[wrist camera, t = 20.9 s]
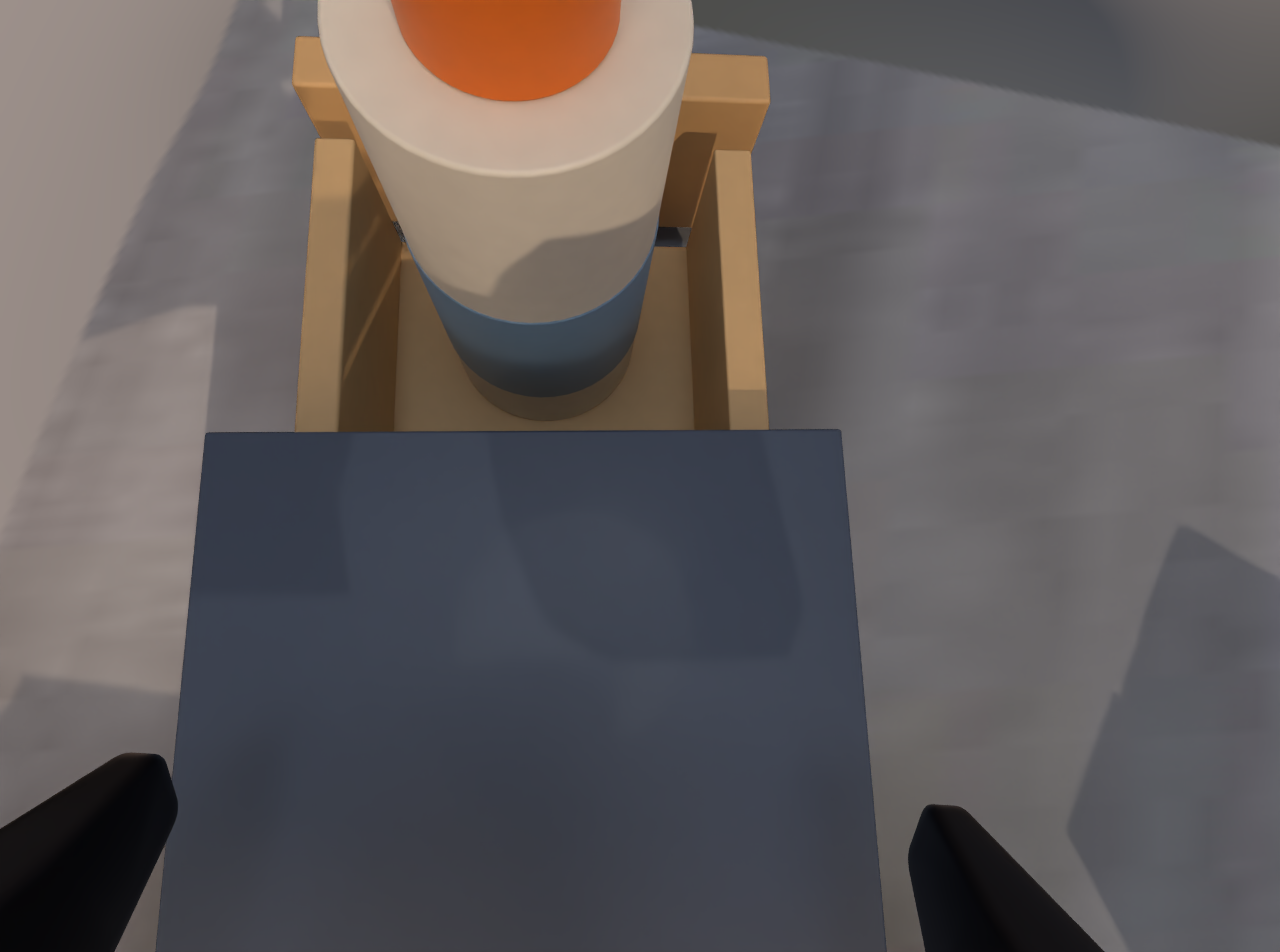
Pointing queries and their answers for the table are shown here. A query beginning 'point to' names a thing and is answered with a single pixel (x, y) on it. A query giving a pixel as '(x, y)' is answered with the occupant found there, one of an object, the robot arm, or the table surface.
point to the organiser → (522, 697)
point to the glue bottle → (522, 172)
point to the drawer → (418, 343)
